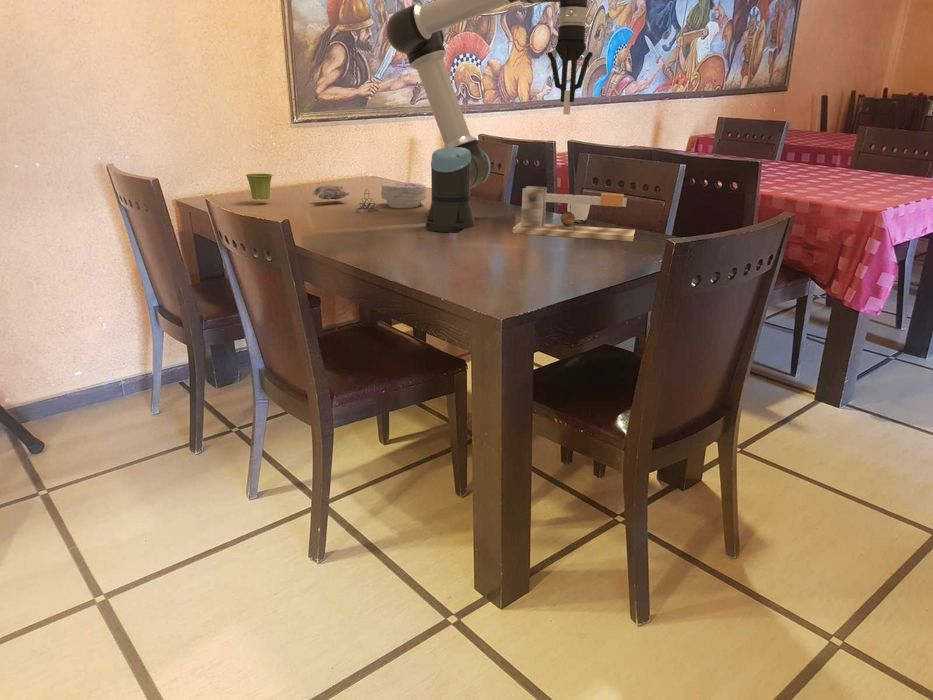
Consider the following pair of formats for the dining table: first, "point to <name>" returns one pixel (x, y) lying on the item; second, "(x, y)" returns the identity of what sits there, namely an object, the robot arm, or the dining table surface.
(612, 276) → the dining table surface
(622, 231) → the press base
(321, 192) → the packaged food
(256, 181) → the plant pot
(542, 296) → the dining table surface
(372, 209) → the house of cards
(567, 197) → the lever
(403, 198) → the paper bowls
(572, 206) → the cup
